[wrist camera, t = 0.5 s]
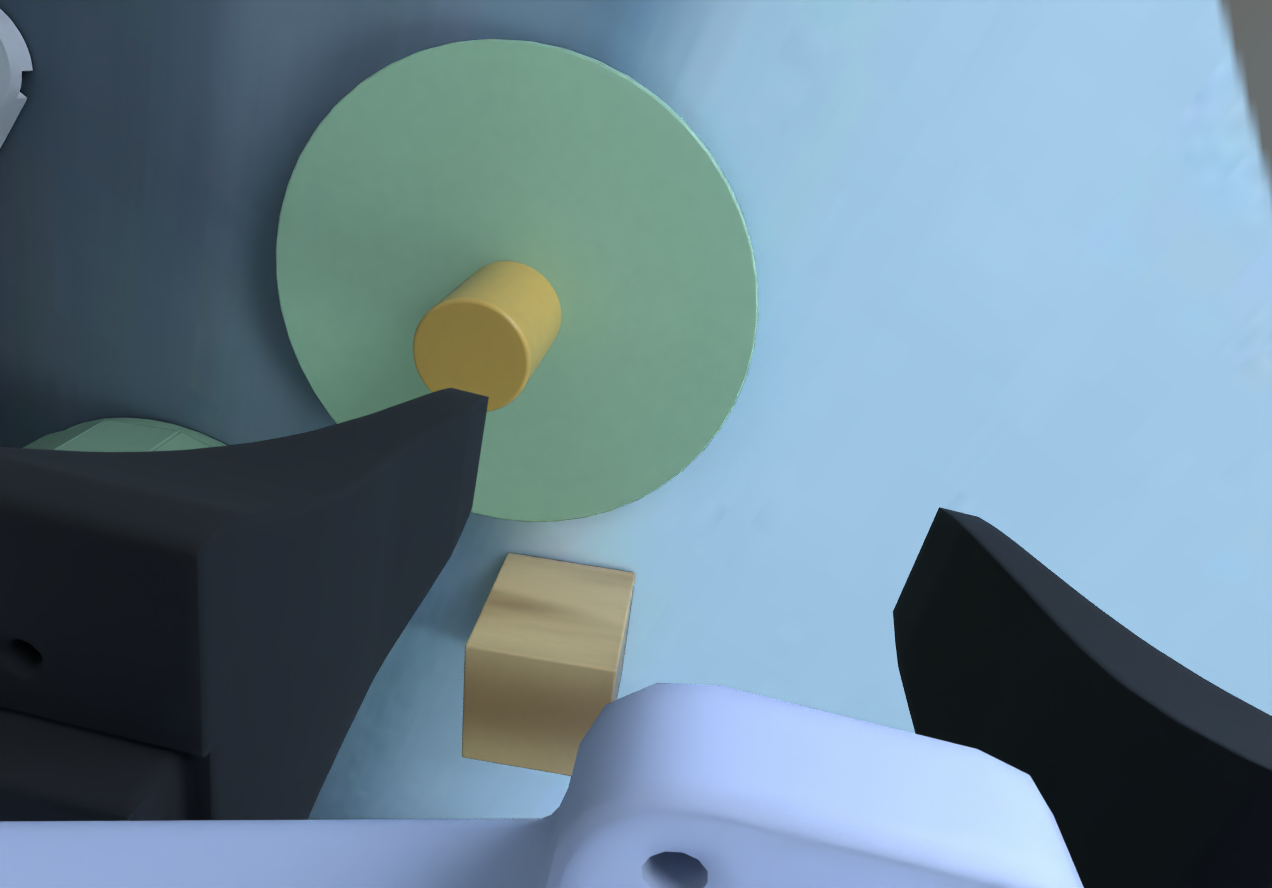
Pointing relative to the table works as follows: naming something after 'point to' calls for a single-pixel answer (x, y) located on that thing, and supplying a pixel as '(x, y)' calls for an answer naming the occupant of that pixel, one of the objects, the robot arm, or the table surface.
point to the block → (543, 661)
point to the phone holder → (11, 73)
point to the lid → (523, 269)
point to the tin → (124, 437)
